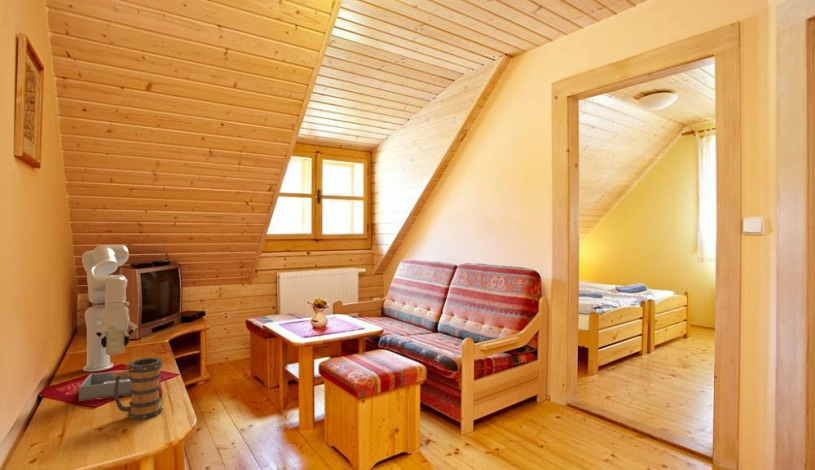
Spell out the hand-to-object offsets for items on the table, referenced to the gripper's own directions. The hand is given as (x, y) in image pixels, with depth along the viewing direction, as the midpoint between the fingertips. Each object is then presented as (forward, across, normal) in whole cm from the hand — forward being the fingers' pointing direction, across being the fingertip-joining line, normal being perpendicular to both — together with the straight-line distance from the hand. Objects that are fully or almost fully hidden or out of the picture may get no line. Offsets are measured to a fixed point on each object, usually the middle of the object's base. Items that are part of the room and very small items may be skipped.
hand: (115, 345), depth 189 cm
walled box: (+20, 0, 0) cm, 20 cm away
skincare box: (+4, 0, 0) cm, 4 cm away
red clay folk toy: (+20, -16, +19) cm, 32 cm away
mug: (+20, -13, +34) cm, 42 cm away
